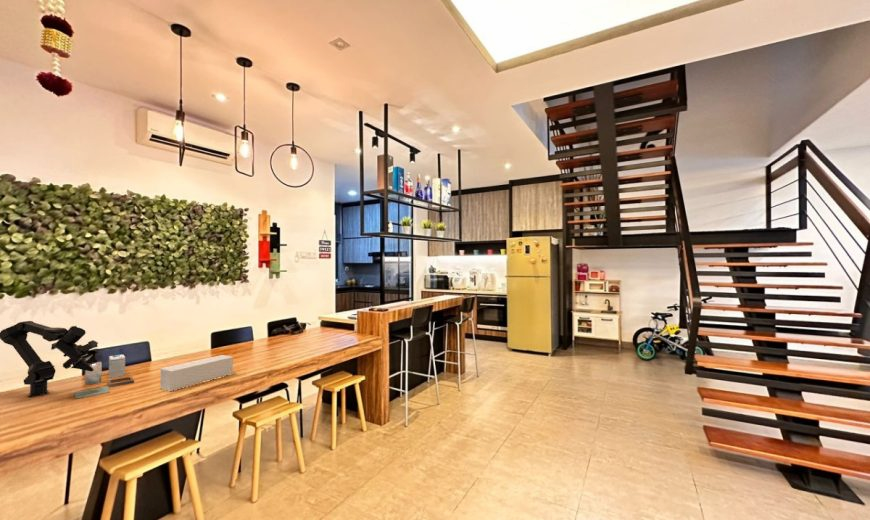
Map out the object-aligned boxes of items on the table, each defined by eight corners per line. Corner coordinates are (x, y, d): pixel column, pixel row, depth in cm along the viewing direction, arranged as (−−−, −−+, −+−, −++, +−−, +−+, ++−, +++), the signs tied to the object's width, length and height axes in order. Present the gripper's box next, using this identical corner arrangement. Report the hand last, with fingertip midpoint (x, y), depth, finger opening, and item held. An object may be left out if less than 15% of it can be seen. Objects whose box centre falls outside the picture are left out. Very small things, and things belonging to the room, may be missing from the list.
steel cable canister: (88, 382, 177) (89, 362, 177) (103, 380, 179) (104, 361, 180) (81, 385, 172) (82, 365, 172) (97, 384, 174) (98, 364, 174)
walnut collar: (107, 383, 189) (107, 380, 189) (131, 378, 197) (131, 376, 197) (109, 387, 183) (109, 384, 183) (133, 382, 190) (134, 380, 190)
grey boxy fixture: (108, 374, 206) (108, 356, 206) (123, 371, 211) (123, 354, 211) (109, 378, 199) (110, 359, 199) (125, 375, 204) (125, 357, 204)
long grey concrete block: (222, 372, 209) (222, 354, 210) (232, 375, 204) (232, 357, 204) (160, 388, 182) (160, 368, 182) (170, 392, 176) (170, 371, 177)
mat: (74, 393, 175) (75, 392, 175) (107, 386, 184) (107, 386, 184) (75, 399, 167) (75, 398, 167) (109, 392, 175) (109, 391, 175)
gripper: (71, 340, 166) (99, 361, 169) (96, 333, 184) (120, 352, 187) (49, 358, 163) (78, 379, 167) (77, 349, 181) (102, 368, 184)
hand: (96, 368), depth 176 cm, fingers closed on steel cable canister, 6 cm apart
